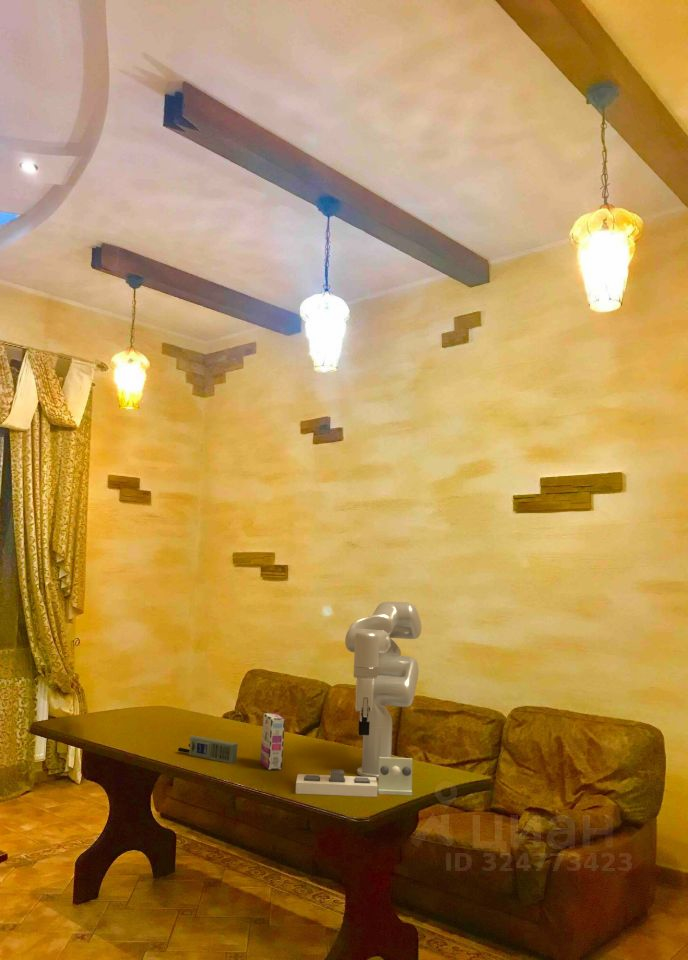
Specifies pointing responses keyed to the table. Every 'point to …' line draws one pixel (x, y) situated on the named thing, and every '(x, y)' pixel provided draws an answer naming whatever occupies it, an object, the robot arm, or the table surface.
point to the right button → (361, 780)
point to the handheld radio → (212, 749)
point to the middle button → (337, 775)
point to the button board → (336, 786)
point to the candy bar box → (272, 741)
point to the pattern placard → (395, 776)
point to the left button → (311, 778)
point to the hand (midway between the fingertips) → (363, 734)
